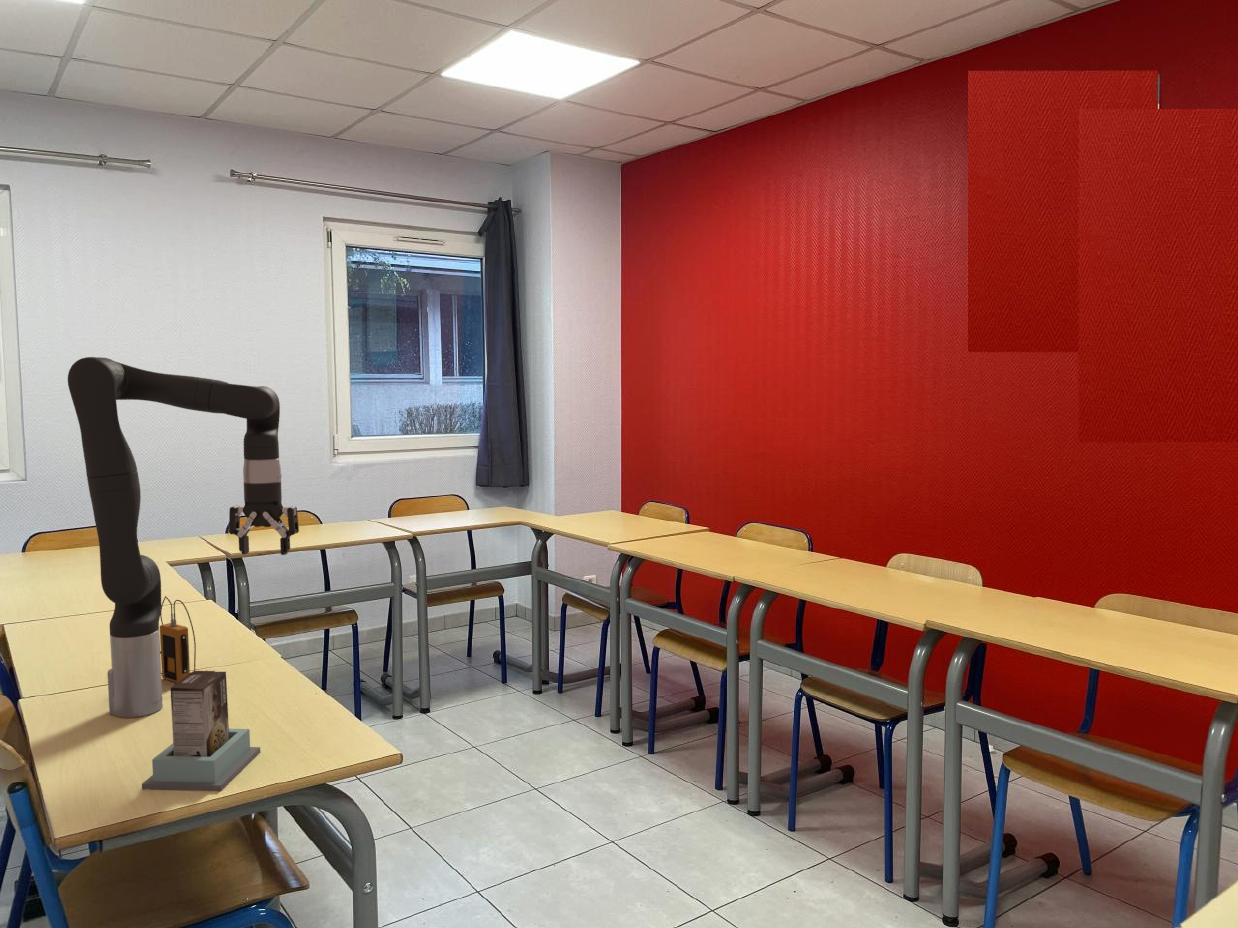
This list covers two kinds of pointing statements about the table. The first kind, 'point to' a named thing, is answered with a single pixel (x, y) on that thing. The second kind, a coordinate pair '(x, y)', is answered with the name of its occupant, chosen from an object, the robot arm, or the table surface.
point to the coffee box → (199, 714)
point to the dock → (202, 766)
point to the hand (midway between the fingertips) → (264, 554)
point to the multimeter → (175, 648)
